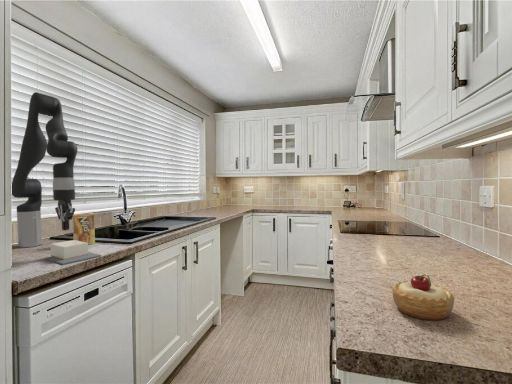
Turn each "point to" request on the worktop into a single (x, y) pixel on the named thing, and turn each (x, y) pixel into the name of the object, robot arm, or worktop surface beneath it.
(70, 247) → the tan block
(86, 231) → the candy box
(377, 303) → the worktop surface
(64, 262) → the mat
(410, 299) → the pastry
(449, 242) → the worktop surface
